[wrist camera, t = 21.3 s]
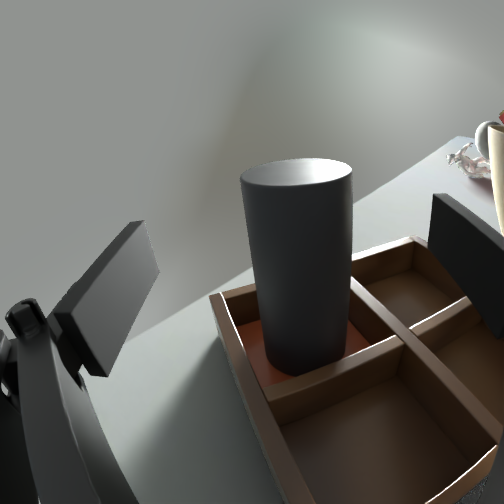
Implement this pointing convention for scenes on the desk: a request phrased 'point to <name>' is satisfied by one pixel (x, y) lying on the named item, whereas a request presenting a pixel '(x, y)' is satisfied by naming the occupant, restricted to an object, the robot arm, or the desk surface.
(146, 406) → the desk surface
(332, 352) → the dark grey cylinder
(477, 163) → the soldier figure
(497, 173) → the beige bowl
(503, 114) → the toy blocks
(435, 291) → the grid
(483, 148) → the decorative ball
